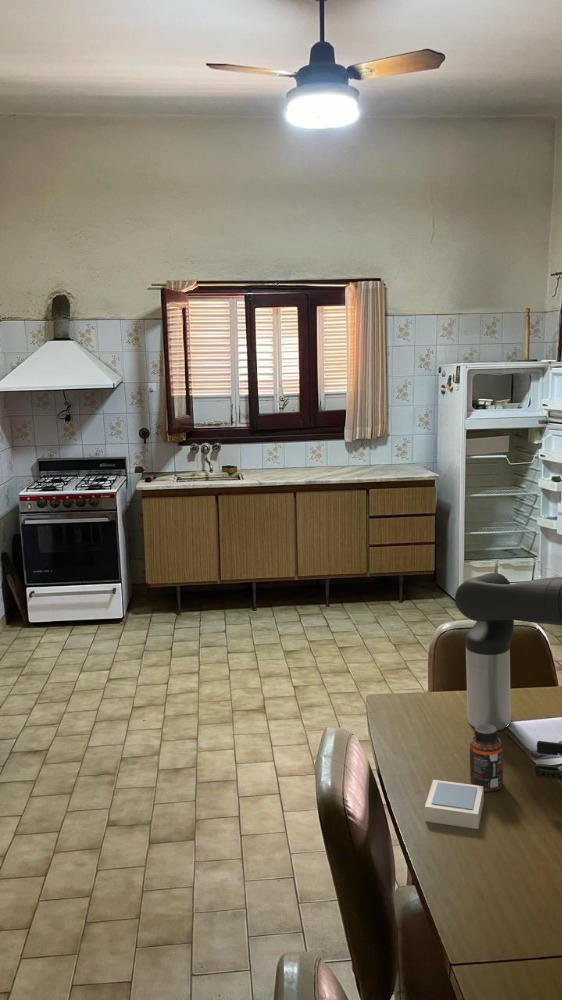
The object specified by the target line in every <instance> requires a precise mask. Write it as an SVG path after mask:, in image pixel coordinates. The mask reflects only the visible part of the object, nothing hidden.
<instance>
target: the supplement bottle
mask: <svg viewBox="0 0 562 1000" xmlns="http://www.w3.org/2000/svg"><path fill="white" fill-rule="evenodd" d="M473 734H474V735H473V736H472V737H471V738H470V739H469V772H470V773H469V775H470V776H469V778H470V779H469V780H470V783H471V784H470V785H478V786H483V788H484V792H487V793H489V792H490V793H491V792H496V791H498V790H500V789H502V787H503V785H504V783H503V782H504V768H503V767H504V766H503V763H504V762H503V761H504V758H503V756H504V754H503V752H504V751H503V742H502V740H501V739H500V737H498V730H497V729H496V727H494V726H492V725H489V724H480V725H477V726H476V727H474V733H473Z"/></svg>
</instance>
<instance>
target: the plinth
mask: <svg viewBox="0 0 562 1000" xmlns="http://www.w3.org/2000/svg"><path fill="white" fill-rule="evenodd" d="M484 792H485V791H484V788H483V786H478V785H472V784H470V783H469V784H467V783H461V782H455V781H446V780H439V779H432V783H431V785H430V788H429V792H428V794H427V795H428V796H427V799H426V802H425V805H424V816H425V817H424V820H425V821H424V822H429V823H435V824H441V825H447V826H456V827H460V828H461V827H462V828H468V829H474V830H475V829H476V830H479V827H480V823H481V817H482V813H483V807H484V800H485V795H484Z"/></svg>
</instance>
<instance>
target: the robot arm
mask: <svg viewBox="0 0 562 1000" xmlns="http://www.w3.org/2000/svg"><path fill="white" fill-rule="evenodd" d="M454 594H455V595H454V602H455V603H454V604H455V605H456V608H457V610H458V611H459V612H460V614H462V615H463V616H464V617H466V618H467V619H469V620H471V621H475V624H474V625H473V626H472V627H471V629H469V631H468V632H467V633H466V635H465V665H466V666H465V667H466V705H467V706H466V709H467V710H466V712H467V713H466V714H467V722H468V724H469V725H470V726H471V727H473V728H475V727H476V726H477V725H480V724H489V725H492V726H494V727H496V729H497V731H501V730H505V729H506V728H505V727H506V726H507V725H508V724H510V723H511V721H512V720H511V719H512V718H511V717H512V715H511V713H512V712H511V706H512V704H511V656H510V655H511V654H510V653H511V652H510V651H511V650H510V648H511V647H510V646H511V645H510V644H511V640H512V638H513V635H514V629H515V628H514V627H515V624H514V623H515V621H518V622H523V623H525V622H526V623H533V624H542V625H543V624H544V625H553V626H559V627H561V626H562V577H561V576H559V577H558V576H557V577H556V576H555V577H545V578H537V579H533V580H532V579H531V580H525V581H521V582H514V583H510V580H509V579H508V577H506V576H504V575H503V574H501V573H499V572H490V573H485V574H482V575H478V576H474V577H472V578H469V579H467V580H465V581H464V582H462V583H461V584H460V585H459V586H458V587H457V589H456V591H455V593H454ZM511 724H512V723H511ZM511 724H510V725H511ZM504 728H505V729H504ZM536 752H537V753H538V754H540V755H548V756H558V757H559V756H560V757H562V740H559V741H558V742H553V741H544V740H538V741H537V742H536ZM534 775H535V776H536V777H537V778H543V779H551V780H557V782H559V783H561V784H562V765H559V766H558V765H554V764H553V765H552V764H544V763H536V764H535V765H534Z"/></svg>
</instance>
